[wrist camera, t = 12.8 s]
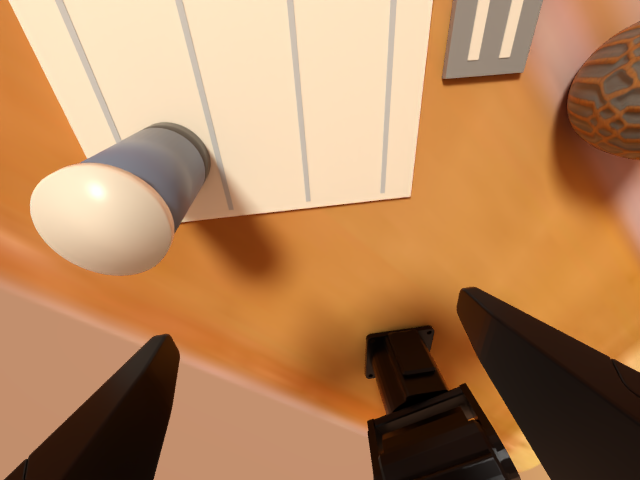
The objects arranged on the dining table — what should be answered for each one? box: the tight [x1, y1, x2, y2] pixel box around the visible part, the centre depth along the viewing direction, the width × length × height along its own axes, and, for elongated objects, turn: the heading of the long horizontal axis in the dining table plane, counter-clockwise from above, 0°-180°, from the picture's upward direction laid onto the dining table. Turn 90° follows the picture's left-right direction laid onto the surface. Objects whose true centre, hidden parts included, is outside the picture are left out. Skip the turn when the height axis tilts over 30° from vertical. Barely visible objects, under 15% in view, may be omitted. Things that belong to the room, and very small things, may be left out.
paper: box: [9, 0, 433, 222], centre depth 16 cm, size 13×19×1 cm
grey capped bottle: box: [30, 122, 211, 276], centre depth 13 cm, size 4×4×8 cm
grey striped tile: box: [442, 0, 543, 79], centre depth 15 cm, size 6×5×1 cm
